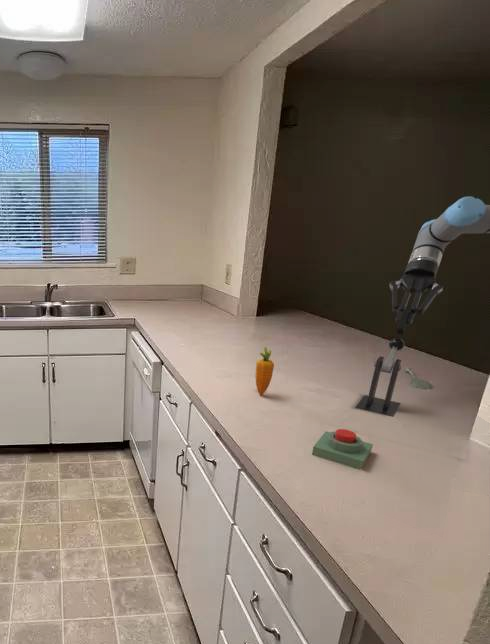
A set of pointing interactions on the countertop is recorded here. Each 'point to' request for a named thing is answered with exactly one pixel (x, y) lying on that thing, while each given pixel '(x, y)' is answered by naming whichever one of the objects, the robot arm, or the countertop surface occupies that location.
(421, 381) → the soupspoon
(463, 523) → the countertop surface
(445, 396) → the countertop surface
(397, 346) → the grey swinging pendulum
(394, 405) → the twin-post stand
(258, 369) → the carrot
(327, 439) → the button box
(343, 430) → the button
